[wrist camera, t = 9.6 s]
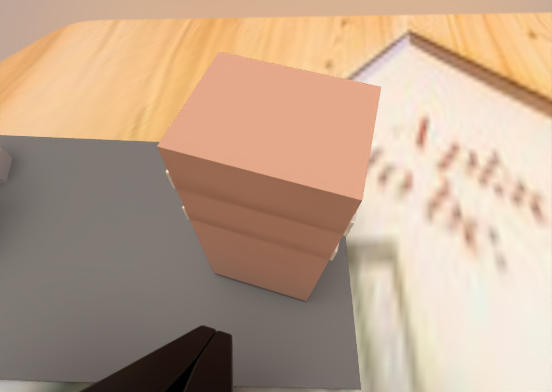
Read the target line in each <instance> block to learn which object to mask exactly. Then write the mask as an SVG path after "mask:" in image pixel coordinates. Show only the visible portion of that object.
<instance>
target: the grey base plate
mask: <svg viewBox="0 0 552 392" xmlns="http://www.w3.org/2000/svg"><path fill="white" fill-rule="evenodd" d="M158 144H159V142H144V141H121V140H98V139H75V138H52V137H29V136H6V135H0V380H22V381H60V382H98V381H100V380H102V379H103V378H105V377H107V376H109V375H111V374H113V373H114V372H116V371H118V370H120V369H122V368H124V367H125V366H127V365H129V364H131V363H133V362H135V361H136V360H138V359H140V358H142V357H144V356H146V355H147V354H149V353H151V352H153V351H155V350H157V349H158V348H160V347H162V346H164V345H166V344H168V343H169V342H171V341H173V340H175V339H177V338H179V337H180V336H182V335H184V334H186V333H188V332H190V331H191V330H193V329H195V328H197V327H199V326H201V325H205V326H208V327H211V328H214V329H216V332H217V331H219V330H220V331H223V332H226V333H229V334H231V335H232V339H233V386H247V387H284V388H322V389H359V390H361V384H360V374H359V365H358V355H357V345H356V336H355V326H354V316H353V307H352V297H351V287H350V277H349V268H348V258H347V248H346V239H345V236H342V238H341V240H340V241H339V246H338V251H337V253H336V255H335V257H334V259H333V260H332V261H331V260H329V261H328V263H327V265H326V267H325V269H324V270H323V272H322V274H321V276H320V278H319V279H318V281H317V283H316V285H315V287H314V289H313V290H312V292H311V294H310V296H309V298H308V299H307V301H304V300H301V299H297V298H294V297H291V296H288V295H284V294H281V293H278V292H275V291H271V290H268V289H265V288H262V287H258V286H255V285H252V284H249V283H245V282H242V281H239V280H236V279H232V278H229V277H226V276H223V275H219V274H216V273H213V271H212V268H211V266H210V264H209V262H208V259H207V257H206V255H205V253H204V251H203V248H202V246H201V244H200V242H199V239H198V237H197V235H196V233H195V230H194V228H193V226H192V224H191V221H190V220H189V219H187V218H186V216H185V213H184V211H183V209H182V207H183V204H182V201H181V199H180V197H179V195H178V192H177V190H176V189H175V188H173V187H172V185H171V183H170V181H169V179H168V177H167V174H166V170H167V168H166V166H165V163H164V161H163V159H162V157H161V154H160V152H159V150H158V148H157V145H158Z"/></svg>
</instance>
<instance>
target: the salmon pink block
mask: <svg viewBox="0 0 552 392" xmlns="http://www.w3.org/2000/svg"><path fill="white" fill-rule="evenodd" d="M380 90H381V87H379V86H375V85H370V84H366V83H361V82H356V81H352V80H347V79H343V78H338V77H334V76H329V75H324V74H320V73H315V72H311V71H306V70H302V69H297V68H292V67H288V66H283V65H279V64H274V63H270V62H265V61H260V60H256V59H251V58H247V57H242V56H238V55H233V54H228V53H224V52H218V54H217V55H216V57H215V58H214V60H213V62H212V63H211V65H210V66H209V68H208V69H207V71H206V72H205V74H204V75H203V77H202V78H201V80H200V81H199V83H198V84H197V86H196V87H195V89H194V91H193V92H192V94H191V95H190V97H189V98H188V100H187V101H186V103H185V104H184V106H183V107H182V109H181V110H180V112H179V113H178V115H177V116H176V118H175V120H174V121H173V123H172V124H171V126H170V127H169V129H168V130H167V132H166V133H165V135H164V136H163V138H162V139H161V141H160V142H159V144H158V145H157V148H158V150H159V152H160V154H161V157H162V159H163V161H164V163H165V166H166V168H167V170H166V174H167V177H168V179H169V181H170V183H171V185H172V187H173V188H175V189H176V190H177V192H178V195H179V197H180V199H181V201H182V204H183V207H182V209H183V211H184V213H185V216H186V218H187V219H189V220H190V221H191V224H192V226H193V228H194V230H195V233H196V235H197V237H198V239H199V242H200V244H201V246H202V248H203V251H204V253H205V255H206V257H207V259H208V262H209V264H210V266H211V268H212V271H213V273H216V274H219V275H223V276H226V277H229V278H232V279H236V280H239V281H242V282H245V283H249V284H252V285H255V286H258V287H262V288H265V289H268V290H271V291H275V292H278V293H281V294H284V295H288V296H291V297H294V298H297V299H301V300H304V301H307V299H308V298H309V296H310V294H311V292H312V290H313V289H314V287H315V285H316V283H317V281H318V279H319V278H320V276H321V274H322V272H323V270H324V269H325V267H326V265H327V263H328V261H329V260H331V261H332V260H333V259H334V257H335V255H336V253H337V251H338V246H339V241H340V240H341V238H342V236H347V234H348V233H349V231H350V229H351V228H352V226H353V224H354V220H355V214H356V211H357V209H358V207H359V205H360V203H361V201H362V198H363V192H364V186H365V180H366V174H367V168H368V162H369V156H370V150H371V144H372V138H373V132H374V126H375V120H376V114H377V108H378V102H379V96H380Z"/></svg>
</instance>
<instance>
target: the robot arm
mask: <svg viewBox="0 0 552 392" xmlns="http://www.w3.org/2000/svg"><path fill="white" fill-rule="evenodd" d="M80 392H233V339H232V335H231V334H229V333H226V332H223V331H220V330H219V331H217V332H216V329H214V328H211V327H208V326H205V325H201V326H199V327H197V328H195V329H193V330H191V331H190V332H188V333H186V334H184V335H182V336H180V337H179V338H177V339H175V340H173V341H171V342H169V343H168V344H166V345H164V346H162V347H160V348H158V349H157V350H155V351H153V352H151V353H149V354H147V355H146V356H144V357H142V358H140V359H138V360H136V361H135V362H133V363H131V364H129V365H127V366H125V367H124V368H122V369H120V370H118V371H116V372H114V373H113V374H111V375H109V376H107V377H105V378H103V379H102V380H100V381H98V382H96V383H94V384H92V385H91V386H89V387H87V388H85V389H83V390H82V391H80Z"/></svg>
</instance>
